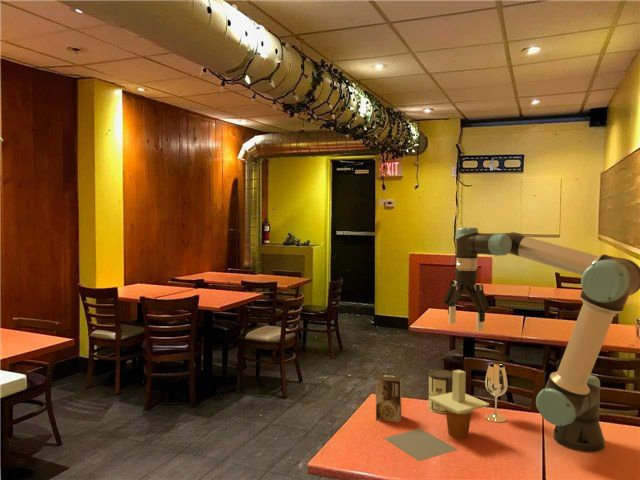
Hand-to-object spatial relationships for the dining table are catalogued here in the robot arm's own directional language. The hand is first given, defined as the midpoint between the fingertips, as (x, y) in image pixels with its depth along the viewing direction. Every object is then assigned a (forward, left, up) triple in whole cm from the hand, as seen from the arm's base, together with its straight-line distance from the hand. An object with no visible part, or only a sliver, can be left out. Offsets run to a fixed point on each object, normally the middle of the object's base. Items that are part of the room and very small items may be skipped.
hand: (465, 327), depth 183 cm
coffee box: (+13, +25, -35) cm, 45 cm away
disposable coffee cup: (-10, +13, -35) cm, 38 cm away
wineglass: (-5, -11, -35) cm, 37 cm away
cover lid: (-10, +13, -23) cm, 28 cm away
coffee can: (+12, 0, -35) cm, 37 cm away
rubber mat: (-9, +29, -35) cm, 46 cm away
